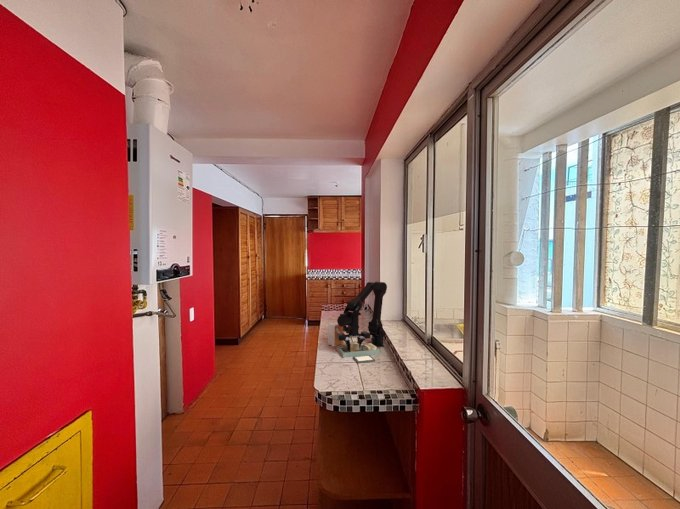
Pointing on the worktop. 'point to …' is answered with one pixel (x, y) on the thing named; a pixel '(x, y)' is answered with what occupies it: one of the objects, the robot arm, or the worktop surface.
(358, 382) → the worktop surface
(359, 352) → the parts bin
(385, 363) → the worktop surface
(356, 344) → the walnut block
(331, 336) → the small box
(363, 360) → the pad
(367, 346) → the maple box
